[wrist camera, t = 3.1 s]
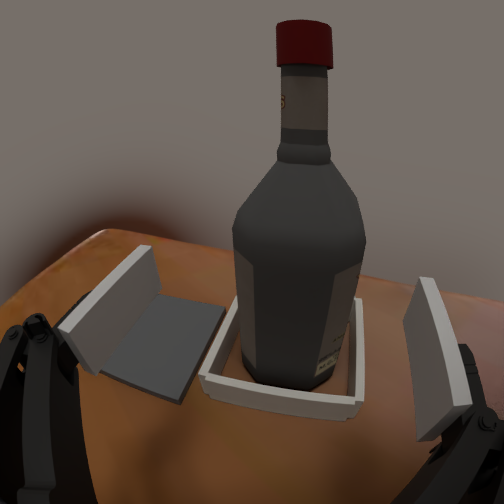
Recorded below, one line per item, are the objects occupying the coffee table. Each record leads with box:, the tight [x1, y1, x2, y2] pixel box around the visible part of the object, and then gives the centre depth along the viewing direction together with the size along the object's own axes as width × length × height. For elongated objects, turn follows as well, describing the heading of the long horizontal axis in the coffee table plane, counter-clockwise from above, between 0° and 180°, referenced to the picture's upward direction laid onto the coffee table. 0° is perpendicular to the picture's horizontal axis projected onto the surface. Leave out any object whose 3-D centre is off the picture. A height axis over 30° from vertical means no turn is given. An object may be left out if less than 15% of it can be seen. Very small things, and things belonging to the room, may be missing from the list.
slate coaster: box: [99, 294, 226, 405], centre depth 31 cm, size 13×14×1 cm
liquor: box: [232, 20, 366, 390], centre depth 21 cm, size 9×9×30 cm
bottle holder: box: [198, 295, 365, 421], centre depth 28 cm, size 15×15×4 cm
